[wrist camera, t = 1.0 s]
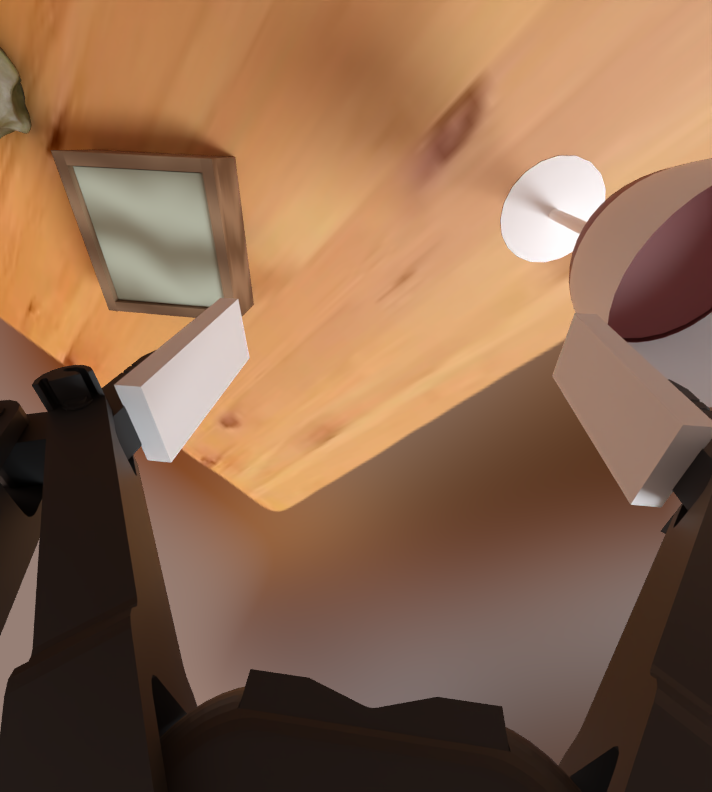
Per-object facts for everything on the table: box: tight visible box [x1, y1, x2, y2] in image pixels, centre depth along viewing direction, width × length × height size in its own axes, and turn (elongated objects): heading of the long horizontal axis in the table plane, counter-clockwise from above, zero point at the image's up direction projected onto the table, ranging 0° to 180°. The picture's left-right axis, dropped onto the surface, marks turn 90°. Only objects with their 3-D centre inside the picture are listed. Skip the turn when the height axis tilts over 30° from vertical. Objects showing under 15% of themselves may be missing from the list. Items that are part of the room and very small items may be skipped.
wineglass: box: [501, 156, 712, 407], centre depth 23 cm, size 9×10×23 cm
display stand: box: [51, 150, 254, 318], centre depth 36 cm, size 14×14×5 cm
